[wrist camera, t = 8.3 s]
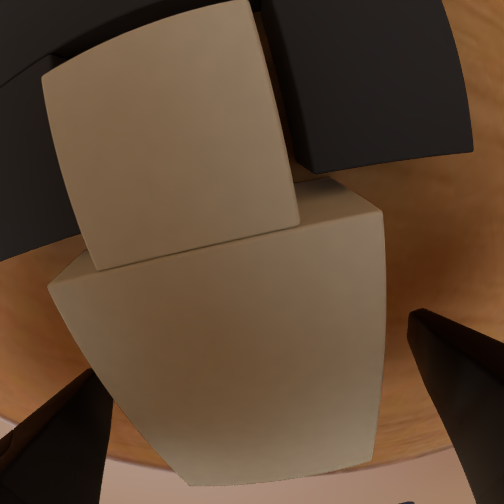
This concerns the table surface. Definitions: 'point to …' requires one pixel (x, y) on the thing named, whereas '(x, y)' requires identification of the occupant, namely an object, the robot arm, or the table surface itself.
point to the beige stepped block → (215, 258)
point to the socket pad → (289, 76)
